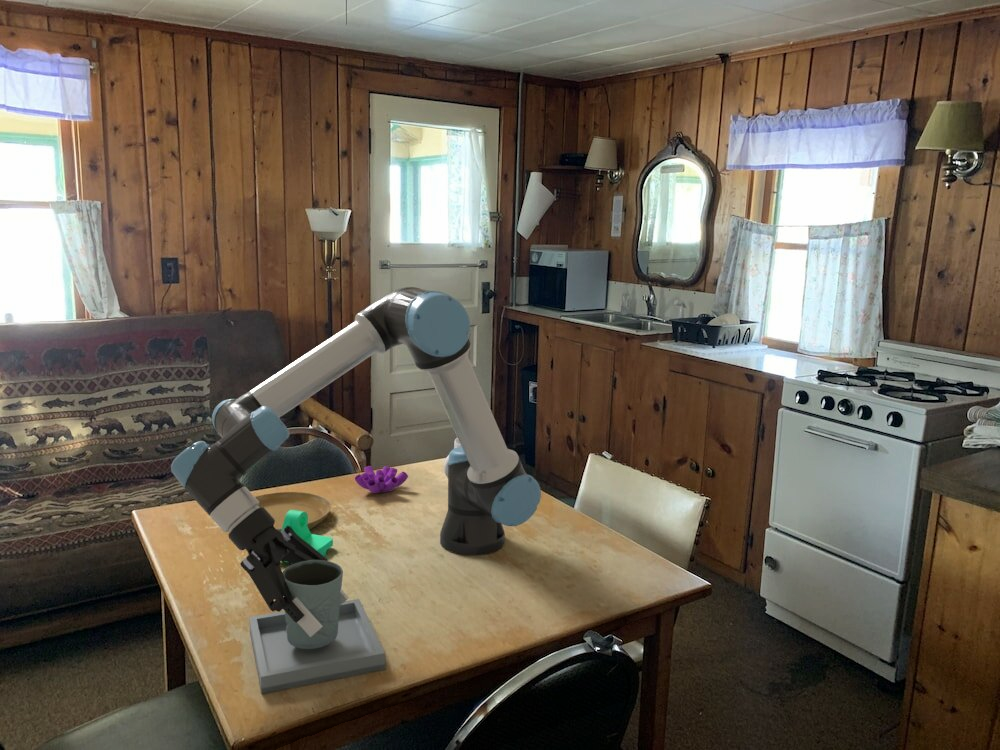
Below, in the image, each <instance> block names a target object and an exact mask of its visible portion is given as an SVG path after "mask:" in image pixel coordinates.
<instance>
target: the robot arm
mask: <svg viewBox="0 0 1000 750" xmlns="http://www.w3.org/2000/svg"><path fill="white" fill-rule="evenodd" d="M470 332H471V321H470V317H469V314H468V311H467V309H466V308H465V306H464V305H463V304H462V303H461V302H460V301H459V300H457V299H456V298H455V297H453V296H450V295H449V294H446V293H444V292H442V291H438V290H437V291H436V290H427V289H422V288H420V287H415V286H405V287H401V288H398V289H395V290H393V291H391V292H389V293H388V294H386V295H384V296H382V297H380V298H379V299H377V300H376V301H374V302H373V303H372V304H370V305H368V306H366V307H365V308H364V309H362V310H361V311H359V312H357V314H356V315H355V317H354V321H353V322H352V323H350V324H349V325H347V326H346V327H345V328H343V329H341V330H340V331H338V332H337V333H335V334H333V335H332V336H330V337H329V338H327V339H326V340H325V341H323V342H321V343H320V344H319V345H317V346H316V347H314V348H312V349H311V350H309V351H308V352H306V353H305V354H303V355H302V356H301V357H299V358H297V359H296V360H294V361H293V362H291V363H290V364H288V365H287V366H285V367H284V368H283V369H281V370H279V371H278V372H277V373H275V374H273V375H272V376H270V377H269V378H267V379H266V380H265V381H263V382H261V383H259V384H258V385H257V386H255V387H254V388H252V389H251V390H249V391H247V392H245V393H243V394H242V395H240V396H239V397H238V398H230V399H229V398H228V399H225V400H222V401H221V402H219V403H218V404H217V405H216V406H215V407H214V409H213V412H212V415H211V422H212V425H213V428H214V430H215V432H216V434H217V435H218V437H220V439H219V440H217V441H216V442H214V443H213V444H211V445H210V444H208V443H207V442H206V441H204V440H199V441H196V442H193V443H192V445H190V446H189V447H187V448H184V450H183V451H182V452H180V453H179V454H178V455H177V456H176V457H175V458H174V459H173V461H172V463H171V465H170V470H171V473H172V474H173V475H174V477H175V478H176V479H177V481H178V482H179V484H181V485H182V488H183V489H184V490H185V491H186V492H187V493H188V494H189V495H190V496H191V498H193V500H194V501H196V503H197V504H198V505H199V507H201V508H202V509H203V510H204V512H205V513H207V514H208V516H210V518H212V520H213V521H214V522H215V523H216V525H217V526H218V527H219V528H220V530H222V531H223V533H227V532H229V533H228V539H229V540H230V541H231V542H232V543H233V544H234V545H235V546H236V548H238V550H239V551H245V550H246V551H247V554H248V555H247V556H245V558H243V560H241V561H240V563H239V564H240V566H241V568H243V570H244V571H245V572H246V573H247V574H248V575H249V577H250V578H251V580H252V581H253V584H254V585H255V587H256V589H257V590H258V592H259V594H260V595H261V596H262V598H263V600H264V601H265V603H266V605H267V607H268V608H269V610H270V611H271V612H275V611H276V612H282V610H283V611H285V612H286V613H287V614H288V615H289V616H290V617H291V618H292V619H293V621H295V622H296V623H298V624H299V625H300V626H301V627H302V629H303V630H304V631H305V632H306V633H307V634H308V635H309V636H310V637H311V636H313V635H314V634H315V633H316V632H317V631H318V630H320V629H321V628H322V627H323V626H322V625H321V624H320V623H319V621H318V620H317V619H316V618H315V617H314V616H313V615H312V614H311V612H310V611H309V610H308V609H307V608H306V607H305V606H304V605H303V603H302V602H301V601H300V600H299V599H298V598H297V597H296V598H295V599H294V600H293V599H292V596H291V593H290V591H289V588H288V586H287V583H286V582H285V578H284V576H283V573H282V572H283V570H282V569H281V562H282V563H284V562H285V561H286V562H285V563H288V564H289V565H292V564H295V563H298V562H301V561H307V560H325V561H328V558H327V557H325V556H323V555H322V554H320V553H319V552H318V551H317V550H315V549H314V548H313V547H312V546H310V545H309V544H308V543H307V542H305V541H304V540H303V539H302V538H301V537H299V536H298V535H297V534H296V533H295V532H294V530H293V529H292V528H291V527H290V526H287V527H285V528H284V529H283V530H282V531H281V532H280V531H278V530H277V529H275V528H274V526H273V525H274V523H275V520H274V518H273V517H272V516H271V515H270V514H269V513H268V512H267V510H266V509H265V508H264V507H263V508H262V507H260V508H259V507H258V506H259V501H258V500H257V499H256V498H255V497H256V496H255V495H254V494H253V493H252V492H251V491H250V490H249V489H248V488H247V486H245V485H244V483H242V481H241V480H240V479H241V478H242V477H244V476H245V475H246V474H247V473H248V472H250V471H251V470H252V469H254V468H255V467H256V466H257V465H258V464H259V463H261V462H262V461H263V460H265V459H266V458H267V457H268V456H270V455H271V454H272V453H273V452H275V451H277V450H278V449H279V447H280V446H281V445H282V444H283V443H284V442H285V441H287V440H288V439H289V437H290V430H289V428H288V427H287V426H286V424H284V422H283V421H282V420H281V419H280V418H281V417H283V416H284V415H285V414H287V413H289V412H290V411H291V410H293V409H294V408H296V407H297V406H299V405H300V404H302V403H303V402H305V401H306V400H308V399H309V398H311V397H312V396H314V395H315V394H317V393H318V392H319V391H320V390H322V389H324V388H325V387H326V386H328V385H330V384H331V383H333V382H334V381H335V380H337V379H338V378H340V377H342V376H343V375H345V374H346V373H347V372H349V371H351V370H352V369H354V368H355V367H357V365H359V364H361V363H362V362H364V361H365V360H367V359H368V358H370V357H371V356H373V355H374V354H377V353H378V354H384V353H386V352H387V351H389V350H390V349H392V348H395V347H397V346H400V345H405V346H406V347H407V348H408V351H409V353H410V355H411V357H412V360H413V363H414V364H415V366H416V368H417V369H418V370H419V371H423V372H425V373H427V374H428V376H429V378H430V380H431V382H432V384H433V387H434V389H435V391H436V393H437V395H438V398H439V399H440V402H441V405H442V407H443V409H444V411H445V413H446V416H447V417H448V420H449V422H450V424H451V426H452V429H453V431H454V432H455V435H456V438H458V440H459V442H460V444H461V447H457V448H455V449H454V448H453V449H451V451H450V452H449V454H448V455H449V460H448V478H447V483H448V484H447V513H446V516H445V518H444V521H443V524H442V526H441V530H440V533H439V535H440V536H439V543H440V545H441V547H442V548H444V550H446V551H448V552H451V553H454V554H459V555H466V556H481V555H488V554H492V553H495V552H497V551H499V550H501V549H502V548H503V547H504V546H505V544H506V541H505V539H506V534H505V532H506V531H505V530H504V526H507V527H517V526H520V525H522V524H524V523H525V522H527V521H528V520H529V519H531V518H532V517H533V515H534V514H535V513H536V511H537V510H538V506H539V504H540V503H541V502H540V501H541V497H542V489H541V487H540V484H539V482H538V481H537V480H536V479H535V478H534V477H533V476H532V475H530V474H528V473H527V472H526V470H525V469H524V467H523V464H522V461H521V459H520V456H519V454H518V453H517V452H516V451H515V450H513V449H509V448H508V447H507V444H506V442H505V440H504V438H503V435H502V434H501V433H502V432H501V431H500V428H499V426H498V424H497V421H496V419H495V417H494V414H493V412H492V409H491V407H490V404H489V403H488V401H487V398H486V396H485V393H484V391H483V388H482V387H481V384H480V382H479V379H478V377H477V375H476V372H475V371H474V367H473V365H472V363H471V361H470V359H469V356H468V354H469V352H470V350H471V348H472V344H471V340H470V339H469V334H470ZM503 525H504V526H503ZM287 549H288V550H287ZM340 592H341V598H340V605H341V604H343V603H344V602H345V601H348V599H349V598H350V597H349V596H348V595H347V594H346V593H345V592H344V590H343V589H342V588H341V590H340ZM292 600H293V601H292Z"/></svg>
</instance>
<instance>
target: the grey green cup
mask: <svg viewBox="0 0 1000 750" xmlns="http://www.w3.org/2000/svg"><path fill="white" fill-rule="evenodd" d="M282 573H283V576H284V578H285V582H286V583H287V586H288V588H289V591H290V593H291V596H292V599H293V600H294V599H295V598H296V597H297V598H298V599H299V600H300V601H301V602H302V603H303V605H304V606H305V607H306V608H307V609H308V610H309V611H310V612H311V614H312V615H313V616H314V617H315V618H316V619H317V620H318V621H319V623H320V624H321V625H322V626H323V627H322V628H321V629H320V630H318V631H317V632H316V633H315V634H314V635H313V636H311V637H310V636H309V635H308V634H307V633H306V632H305V631H304V630H303V629H302V627H301V626H300V625H299V624H298V623H296V622H295V621H293V619H292V618H291V617H290V616H289V615H288V614H287V613H286V612H285V618H286V623H287V627H286V631H287V639H288V642H289V643H290V644H291V645H292V646H294V647H297V648H301V649H315V648H320V647H323V646H326V645H328V644H330V643H331V642H333V641H334V640H335V639H336V637H337V634H338V621H339V608H340V598H341V592H340V590H341V589H342V586H343V576H344V575H343V574H344V570H343V568H342V567H341V565H340V564H338V563H335V562H333V561H330V560H327V561H325V560H307V561H301V562H298V563H295V564H289V565H288V566H287V567H286V568H284V570H282ZM293 600H292V601H293Z"/></svg>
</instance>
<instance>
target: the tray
mask: <svg viewBox="0 0 1000 750" xmlns="http://www.w3.org/2000/svg"><path fill="white" fill-rule="evenodd" d="M248 618H249V619H248V620H249V636H250V640H251V641H250V642H251V645H252V646H251V647H252V650H253V656H254V660H255V661H254V662H255V667H256V672H257V673H256V674H257V677H258V683H259V689H260V694H261V695H265V694H269V693H274V692H279V691H283V690H289V689H293V688H300V687H304V686H309V685H313V684H319V683H323V682H328V681H333V680H337V679H344V678H348V677H353V676H359V675H363V674H368V673H374V672H377V671H383V670H386V652H385V649H384V648H383V646H382V645H383V644H381V641H380V639H379V637H378V635H377V633H376V631H375V628H374V626H373V624H372V623H371V621H370V618H369V616H368V614H367V612H366V610H365V608H364V606H363V604H362V602H361V599H359V598H356V599H351V600H346V601H345V602H344V603H343V604H341V605H340V608H339V621H338V634H337V637H336V639H335V640H334V641H333V642H331V643H330V644H328V645H326V646H323V647H320V648H315V649H301V648H297V647H294V646H292V645H291V644H290V643H289V642H288V639H287V631H286V627H287V623H286V618H285V610H283V611H282V610H281V611H280V612H278V611H276V612H270V613H265V614H260V615H259V614H258V615H253V616H249V617H248Z"/></svg>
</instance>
